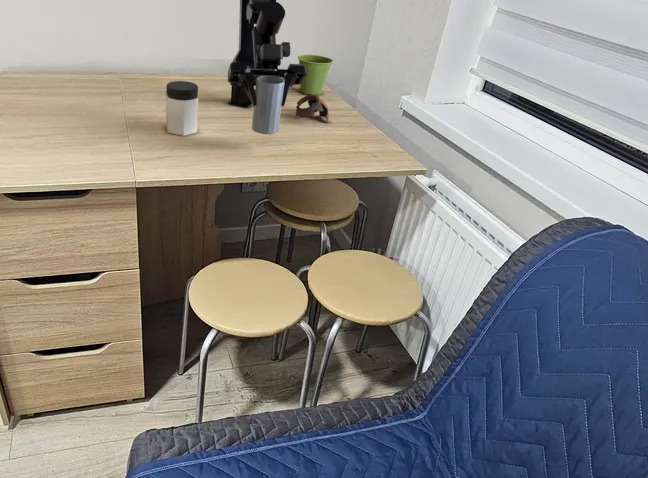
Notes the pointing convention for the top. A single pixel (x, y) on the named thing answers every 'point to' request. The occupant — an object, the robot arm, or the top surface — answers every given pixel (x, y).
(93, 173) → the top surface
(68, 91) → the top surface
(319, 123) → the top surface
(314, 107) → the brown looped piece
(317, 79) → the plant pot
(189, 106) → the jar
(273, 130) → the tumbler
